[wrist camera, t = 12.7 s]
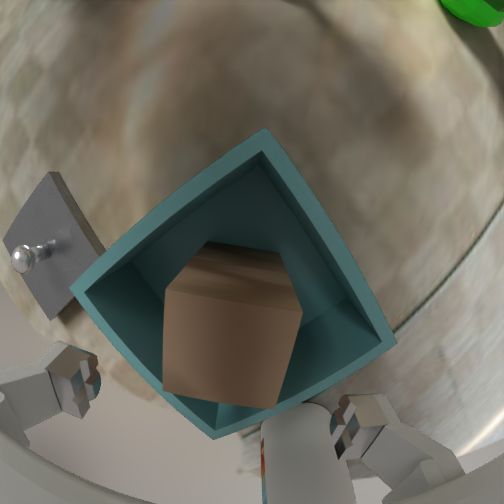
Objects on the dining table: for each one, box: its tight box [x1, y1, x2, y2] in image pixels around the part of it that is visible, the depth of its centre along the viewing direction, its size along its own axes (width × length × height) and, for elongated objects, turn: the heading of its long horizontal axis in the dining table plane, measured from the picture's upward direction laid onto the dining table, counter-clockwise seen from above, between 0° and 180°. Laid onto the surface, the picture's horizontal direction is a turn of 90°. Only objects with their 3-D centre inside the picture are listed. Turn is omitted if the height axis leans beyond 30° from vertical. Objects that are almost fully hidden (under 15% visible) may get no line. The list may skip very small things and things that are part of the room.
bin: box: [69, 127, 397, 440], centre depth 17 cm, size 14×14×8 cm
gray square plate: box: [3, 172, 106, 321], centre depth 18 cm, size 10×10×6 cm
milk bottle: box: [261, 402, 356, 504], centre depth 15 cm, size 8×8×20 cm
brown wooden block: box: [163, 241, 303, 409], centre depth 15 cm, size 5×5×10 cm
